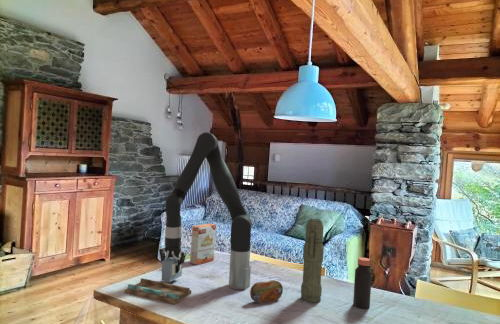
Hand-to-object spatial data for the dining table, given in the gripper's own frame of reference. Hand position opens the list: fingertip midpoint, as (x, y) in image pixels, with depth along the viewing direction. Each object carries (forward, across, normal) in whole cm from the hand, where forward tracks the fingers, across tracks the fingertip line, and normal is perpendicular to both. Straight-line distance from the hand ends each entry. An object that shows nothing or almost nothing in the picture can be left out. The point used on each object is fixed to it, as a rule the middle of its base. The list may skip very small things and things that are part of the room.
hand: (172, 271), depth 170 cm
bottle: (+6, -85, -16) cm, 86 cm away
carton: (+3, 0, 0) cm, 3 cm away
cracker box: (+5, +3, -36) cm, 36 cm away
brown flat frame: (+5, -3, +14) cm, 15 cm away
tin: (+6, -47, -1) cm, 47 cm away
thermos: (+6, -64, -12) cm, 65 cm away
